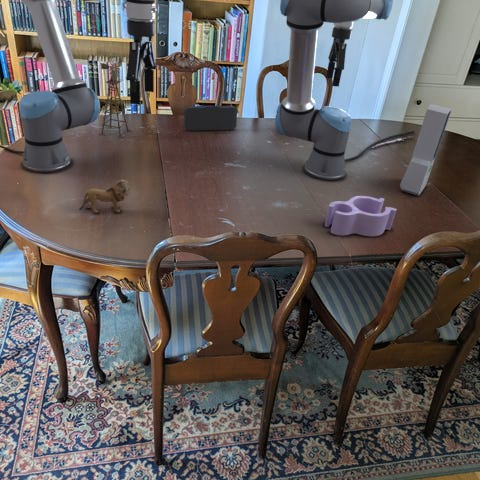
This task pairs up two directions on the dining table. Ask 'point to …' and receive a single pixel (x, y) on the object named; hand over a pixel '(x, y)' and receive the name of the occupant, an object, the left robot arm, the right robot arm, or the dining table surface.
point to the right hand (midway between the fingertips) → (332, 81)
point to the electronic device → (425, 149)
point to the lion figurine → (107, 195)
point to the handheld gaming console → (210, 118)
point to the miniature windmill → (112, 82)
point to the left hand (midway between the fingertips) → (142, 97)
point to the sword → (389, 142)
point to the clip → (359, 216)
